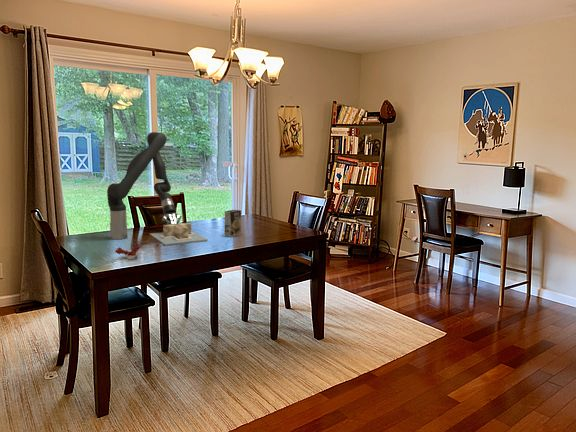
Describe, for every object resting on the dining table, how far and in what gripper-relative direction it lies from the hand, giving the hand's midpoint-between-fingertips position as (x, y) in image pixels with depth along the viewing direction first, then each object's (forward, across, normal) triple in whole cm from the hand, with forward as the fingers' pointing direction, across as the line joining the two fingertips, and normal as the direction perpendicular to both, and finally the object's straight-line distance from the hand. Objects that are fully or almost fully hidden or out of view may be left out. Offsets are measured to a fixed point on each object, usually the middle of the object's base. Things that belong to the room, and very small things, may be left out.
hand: (175, 229), depth 282 cm
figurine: (+30, -36, -24) cm, 53 cm away
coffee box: (+14, +33, -7) cm, 36 cm away
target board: (+7, 0, -1) cm, 7 cm away
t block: (+8, 0, -3) cm, 9 cm away
